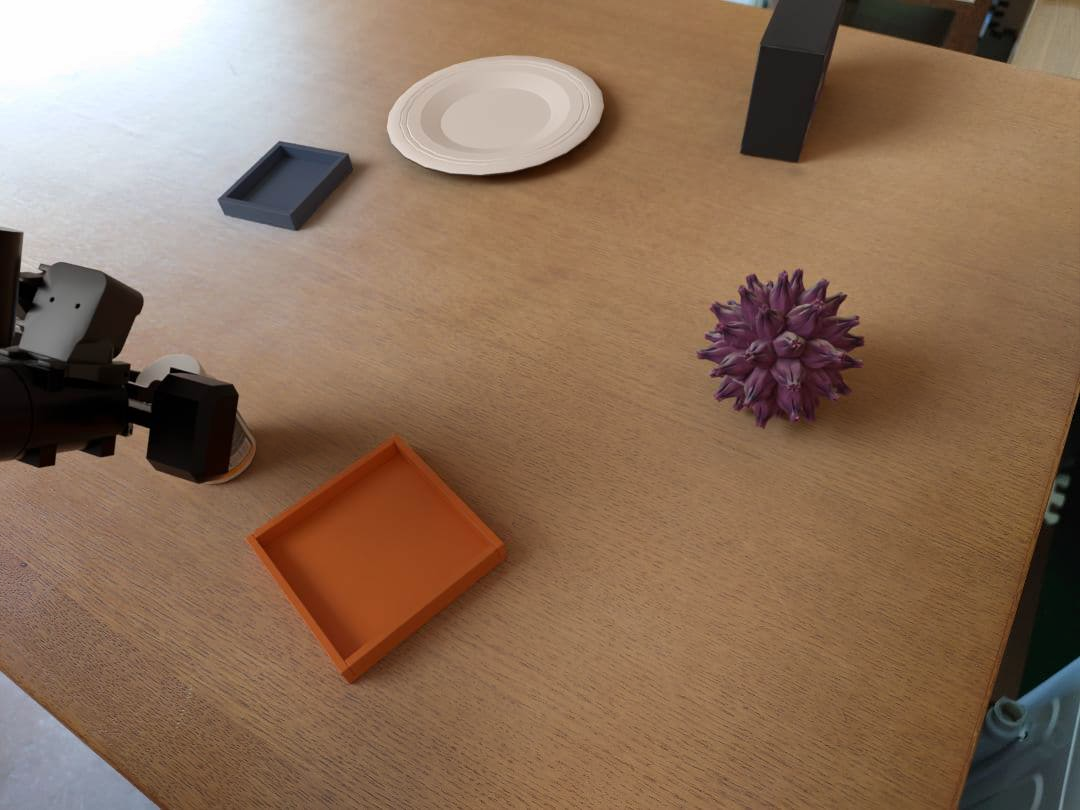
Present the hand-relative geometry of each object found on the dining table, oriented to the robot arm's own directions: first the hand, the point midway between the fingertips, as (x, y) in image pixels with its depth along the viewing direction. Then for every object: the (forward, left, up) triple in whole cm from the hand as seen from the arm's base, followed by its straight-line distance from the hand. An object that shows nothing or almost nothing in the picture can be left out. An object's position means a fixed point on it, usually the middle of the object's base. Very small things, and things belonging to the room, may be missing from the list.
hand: (199, 392), depth 58 cm
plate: (+44, +22, -7) cm, 50 cm away
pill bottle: (-1, -1, -7) cm, 7 cm away
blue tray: (+20, +28, -7) cm, 35 cm away
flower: (+35, -26, -7) cm, 44 cm away
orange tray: (+4, -17, -7) cm, 18 cm away
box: (+67, -1, -7) cm, 67 cm away
